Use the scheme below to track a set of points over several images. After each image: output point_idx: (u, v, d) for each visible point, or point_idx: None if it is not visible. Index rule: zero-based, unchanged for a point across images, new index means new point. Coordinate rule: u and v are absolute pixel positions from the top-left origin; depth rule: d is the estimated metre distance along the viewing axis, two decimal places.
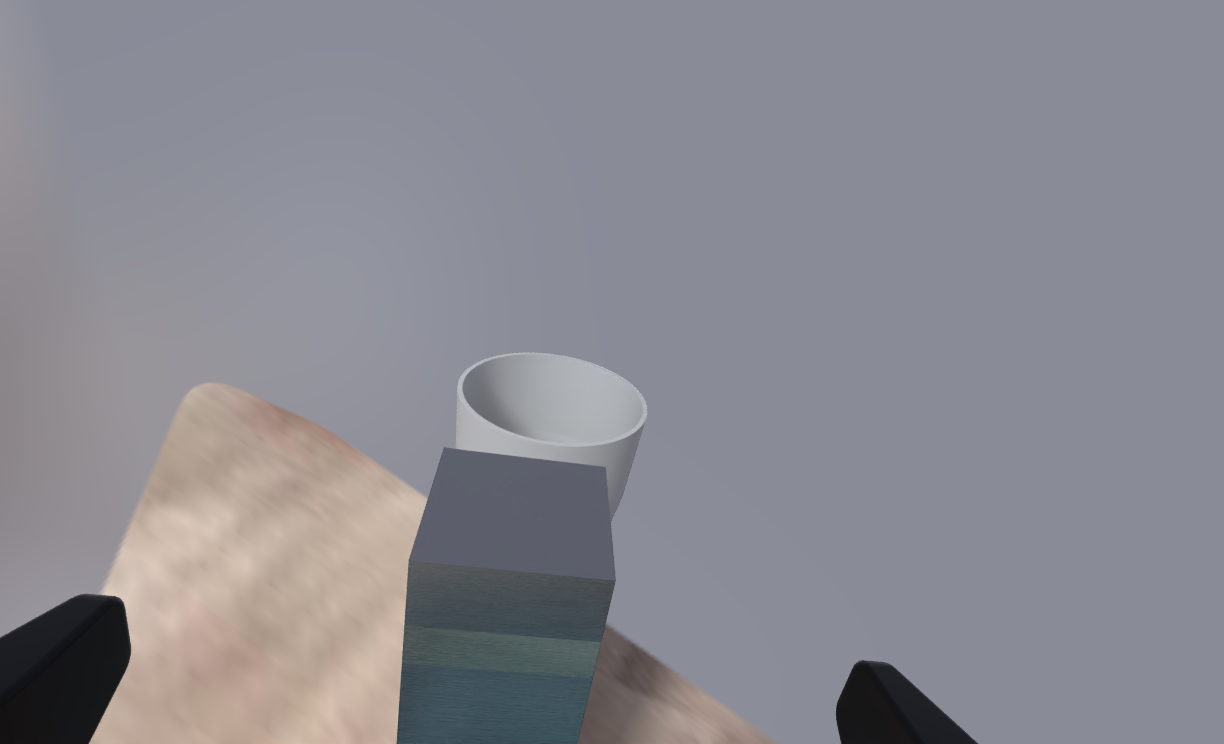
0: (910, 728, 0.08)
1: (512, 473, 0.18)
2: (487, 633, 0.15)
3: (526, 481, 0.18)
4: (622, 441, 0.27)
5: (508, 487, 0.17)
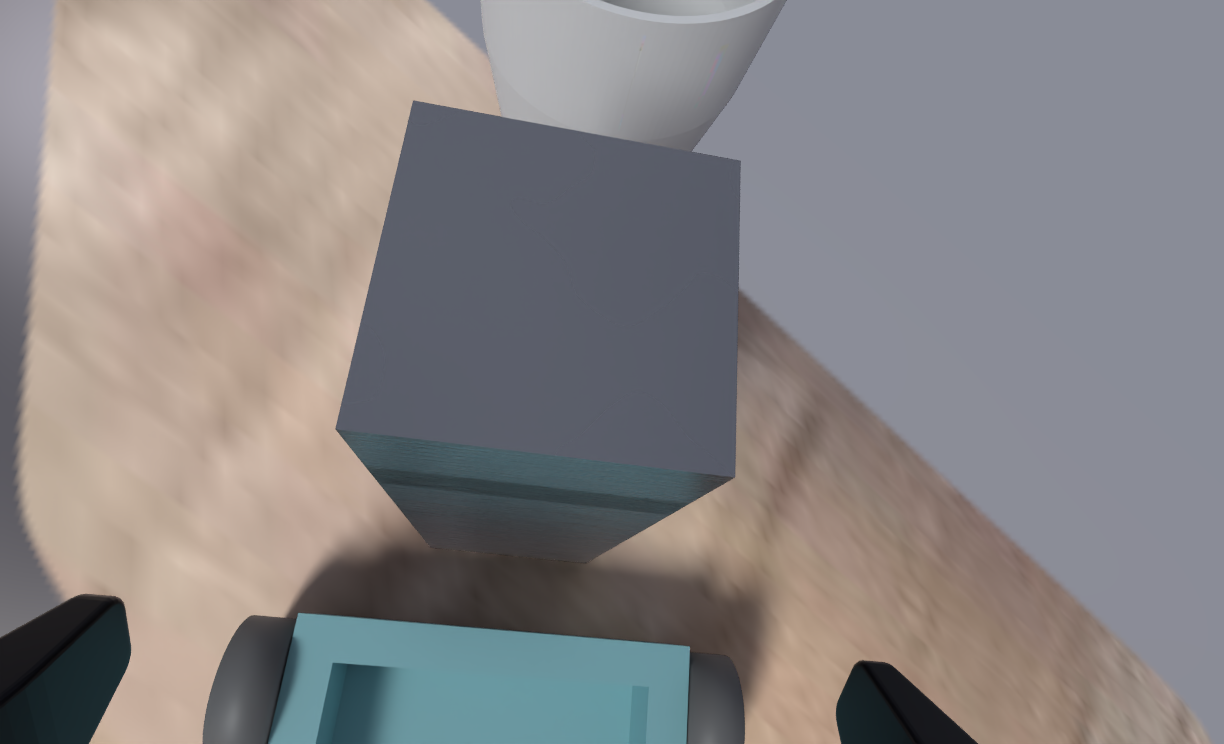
0: (910, 728, 0.08)
1: (551, 179, 0.09)
2: (506, 482, 0.09)
3: (578, 204, 0.09)
4: (761, 11, 0.15)
5: (542, 220, 0.09)
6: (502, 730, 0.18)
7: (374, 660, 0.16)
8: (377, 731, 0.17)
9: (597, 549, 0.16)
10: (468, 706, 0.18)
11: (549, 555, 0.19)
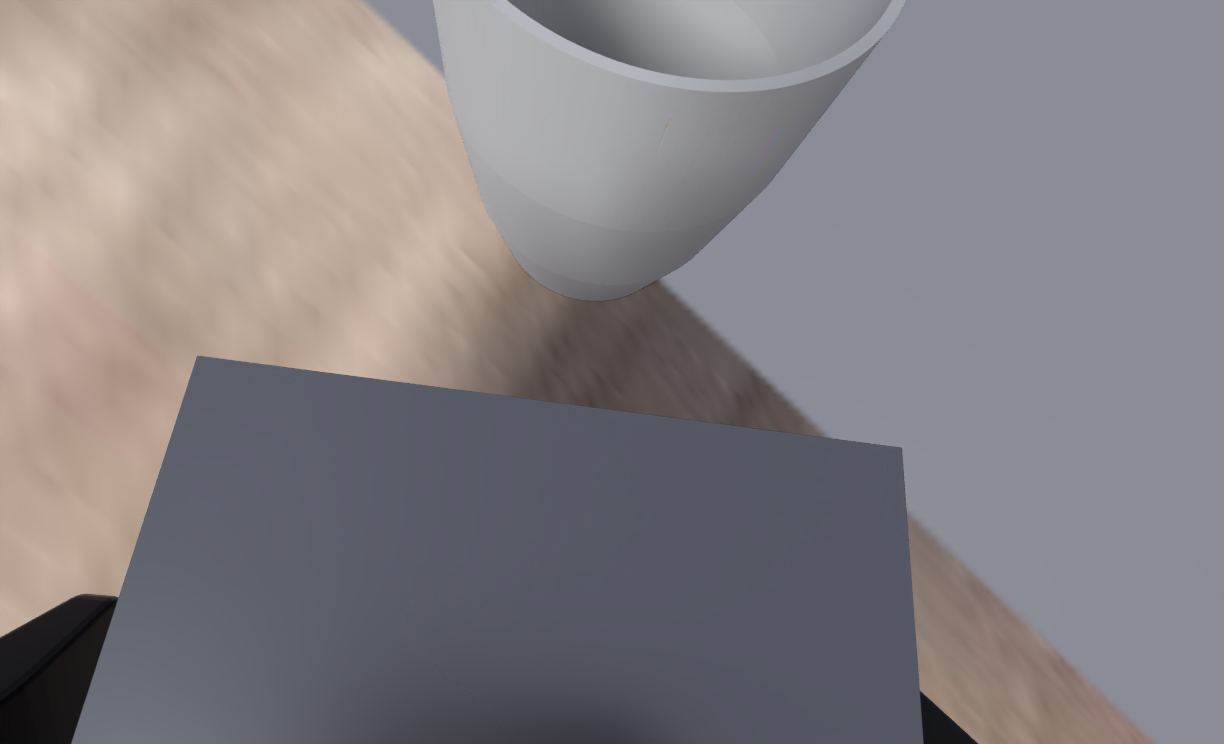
0: None
1: (504, 536, 0.04)
2: None
3: (566, 596, 0.04)
4: (845, 70, 0.10)
5: (479, 653, 0.04)
6: None
7: None
8: None
9: None
10: None
11: None
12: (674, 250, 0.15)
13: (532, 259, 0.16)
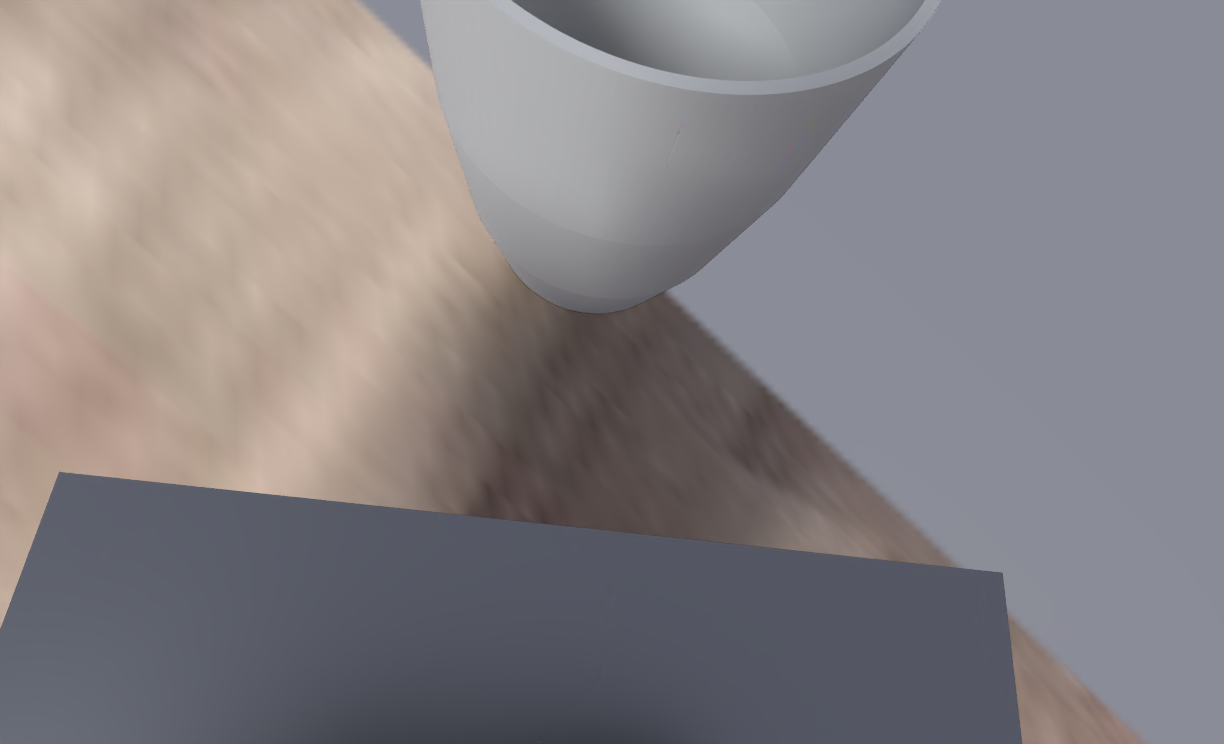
0: None
1: (478, 719, 0.03)
2: None
3: None
4: (879, 69, 0.09)
5: None
6: None
7: None
8: None
9: None
10: None
11: None
12: (682, 263, 0.14)
13: (529, 271, 0.15)
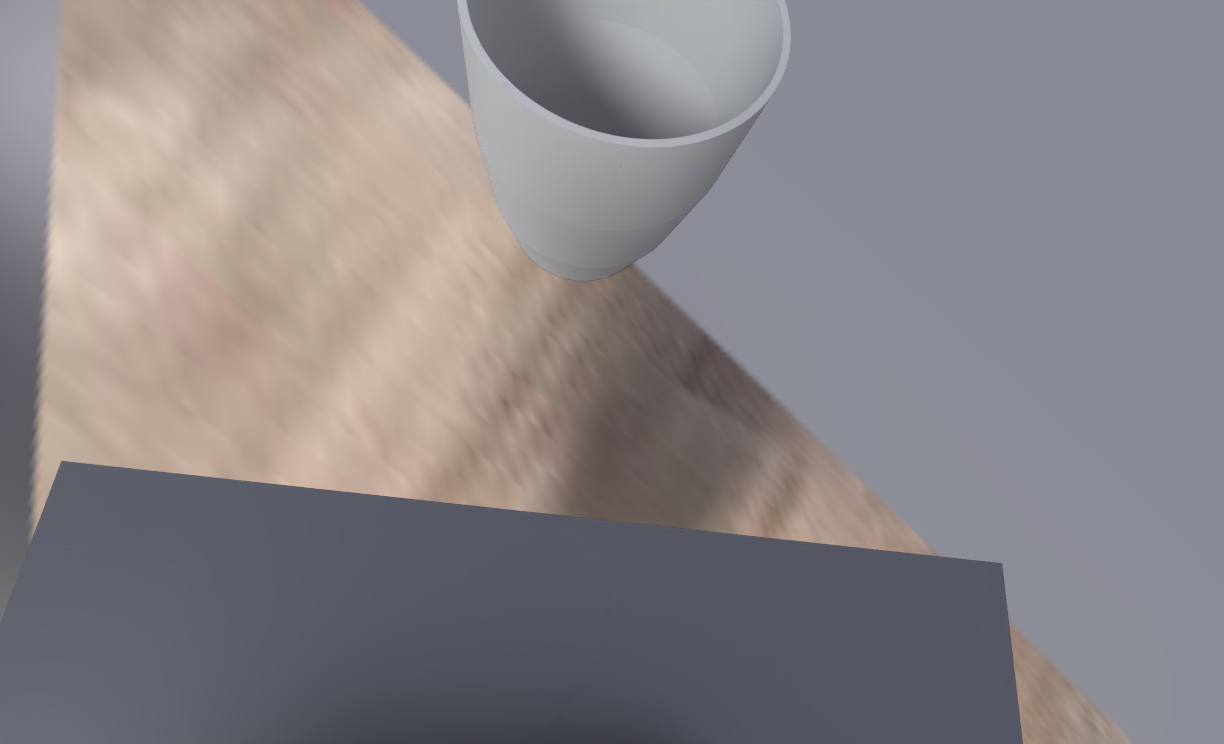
0: None
1: (478, 706, 0.03)
2: None
3: None
4: (737, 129, 0.16)
5: None
6: None
7: None
8: None
9: None
10: None
11: None
12: (637, 243, 0.20)
13: (534, 249, 0.22)
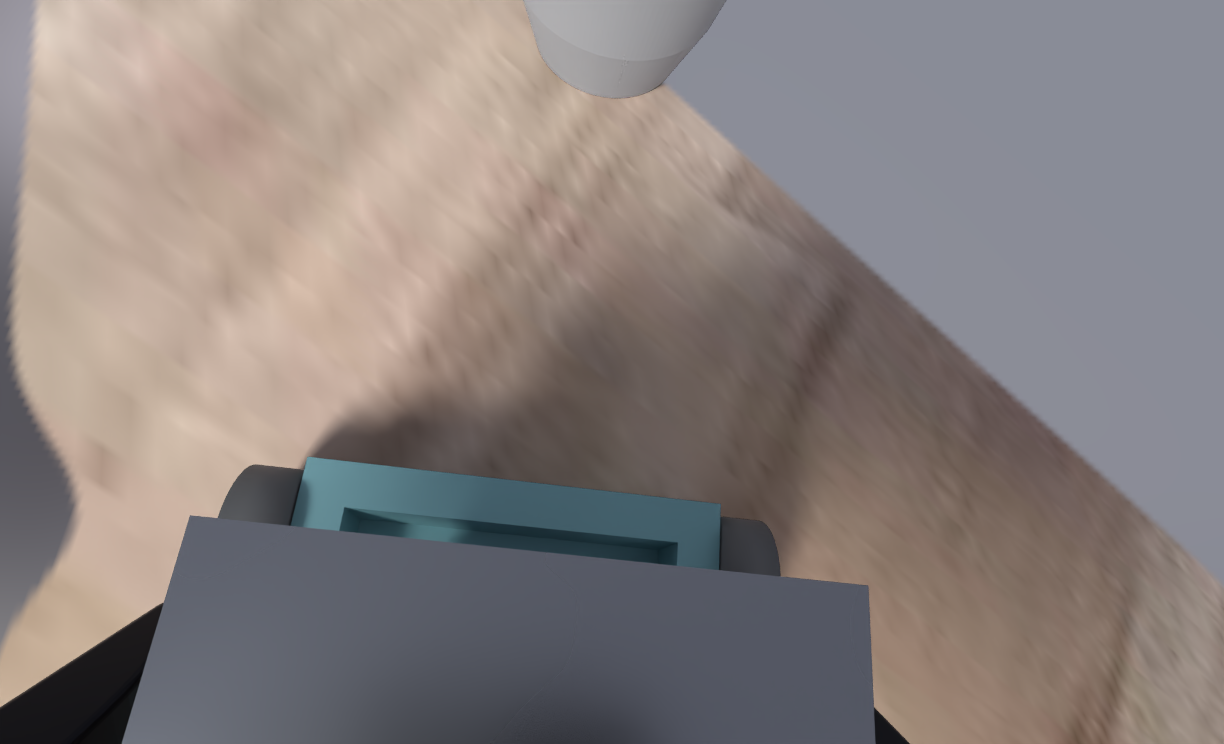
0: None
1: (483, 690, 0.04)
2: None
3: None
4: None
5: None
6: None
7: (388, 506, 0.15)
8: None
9: None
10: None
11: None
12: (678, 11, 0.19)
13: (563, 37, 0.20)
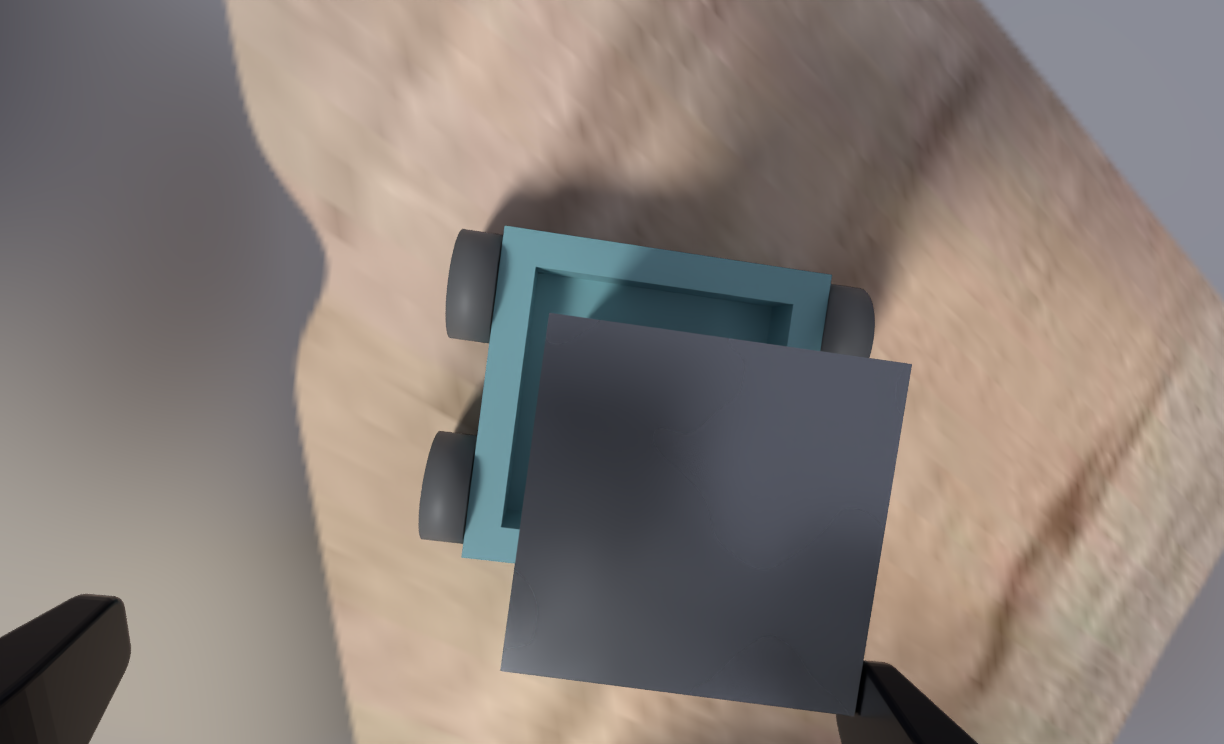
0: (910, 728, 0.08)
1: (695, 402, 0.08)
2: None
3: (724, 432, 0.08)
4: None
5: (684, 454, 0.08)
6: None
7: (568, 267, 0.19)
8: None
9: None
10: (635, 316, 0.21)
11: None
12: None
13: None
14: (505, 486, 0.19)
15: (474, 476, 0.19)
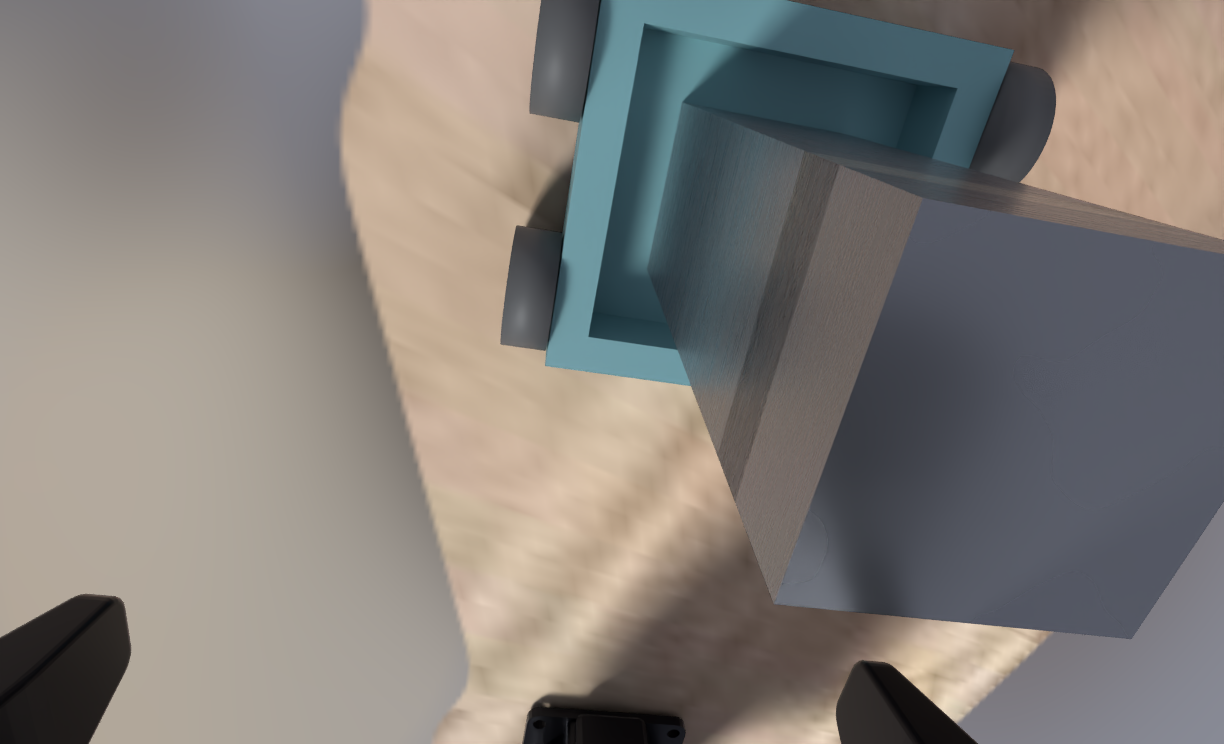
0: (910, 728, 0.08)
1: (1081, 325, 0.06)
2: None
3: (1103, 361, 0.06)
4: None
5: (1046, 386, 0.07)
6: (780, 118, 0.18)
7: (685, 25, 0.15)
8: (662, 104, 0.17)
9: None
10: (750, 91, 0.17)
11: None
12: None
13: None
14: (594, 294, 0.17)
15: (561, 282, 0.17)
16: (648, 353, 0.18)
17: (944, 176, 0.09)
